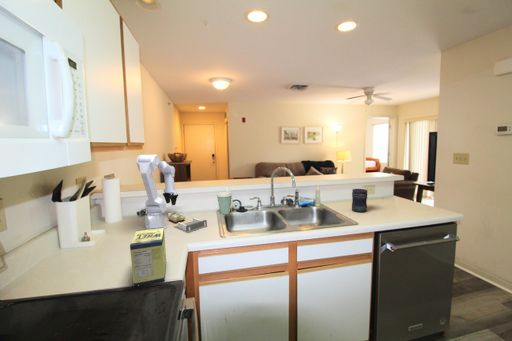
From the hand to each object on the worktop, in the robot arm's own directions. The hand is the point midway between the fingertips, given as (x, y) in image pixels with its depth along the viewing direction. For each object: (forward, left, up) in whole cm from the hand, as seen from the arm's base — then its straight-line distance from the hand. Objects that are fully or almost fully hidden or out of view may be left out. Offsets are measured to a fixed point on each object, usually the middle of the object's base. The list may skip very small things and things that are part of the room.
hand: (170, 204), depth 156 cm
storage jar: (+94, -89, -10) cm, 130 cm away
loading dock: (-1, -23, -10) cm, 25 cm away
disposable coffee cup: (+30, -19, -10) cm, 37 cm away
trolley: (-1, -8, -9) cm, 13 cm away
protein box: (-39, -57, -10) cm, 69 cm away
